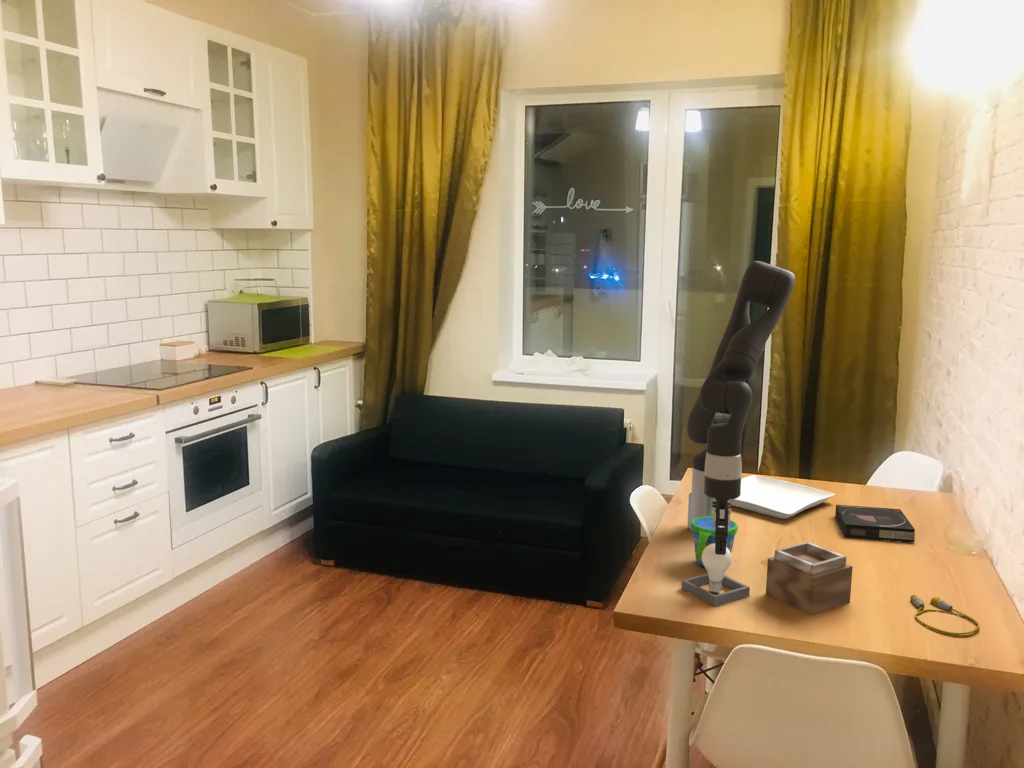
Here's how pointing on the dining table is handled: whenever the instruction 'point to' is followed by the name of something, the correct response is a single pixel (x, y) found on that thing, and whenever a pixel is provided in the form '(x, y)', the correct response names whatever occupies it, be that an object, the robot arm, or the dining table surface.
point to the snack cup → (709, 535)
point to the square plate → (777, 496)
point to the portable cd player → (874, 523)
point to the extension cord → (943, 605)
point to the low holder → (715, 600)
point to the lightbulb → (716, 566)
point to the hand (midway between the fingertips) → (720, 547)
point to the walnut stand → (809, 577)
